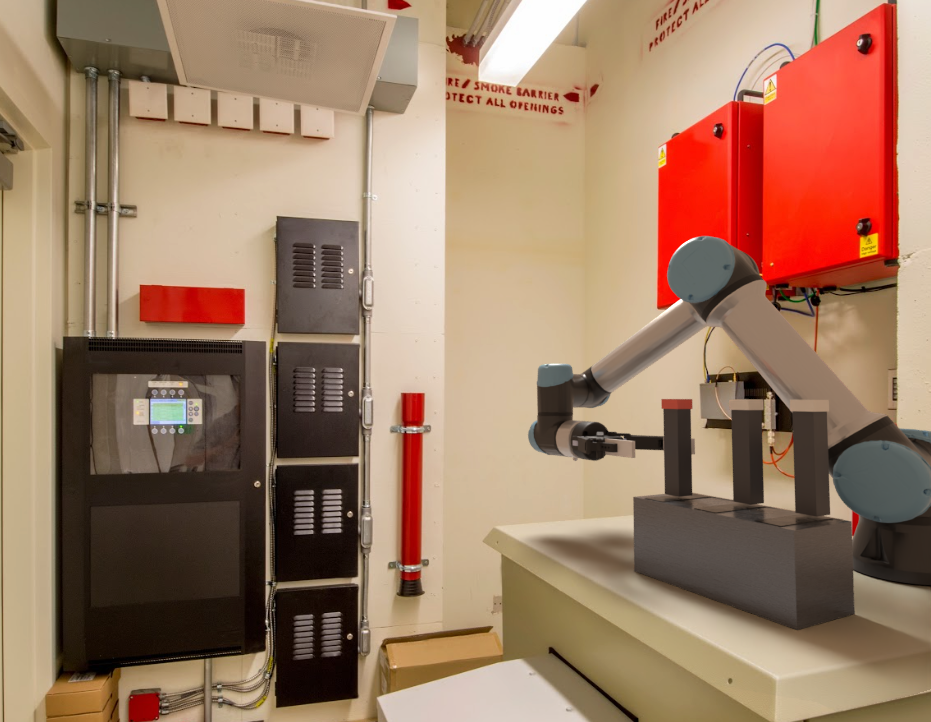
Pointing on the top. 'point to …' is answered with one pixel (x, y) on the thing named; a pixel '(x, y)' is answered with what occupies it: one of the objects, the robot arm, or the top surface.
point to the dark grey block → (748, 556)
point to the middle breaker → (747, 450)
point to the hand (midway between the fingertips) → (664, 448)
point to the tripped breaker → (677, 446)
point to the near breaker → (811, 457)
